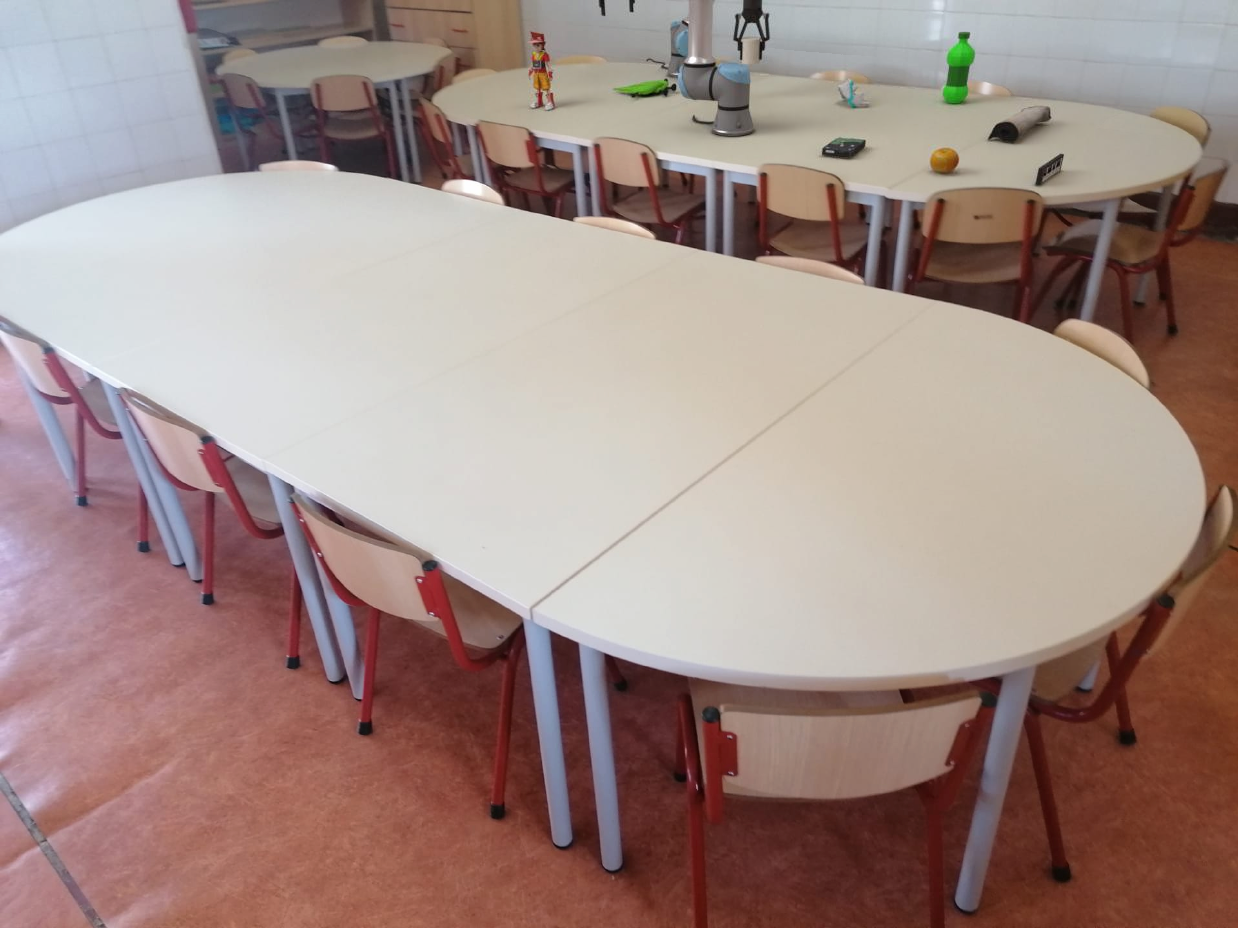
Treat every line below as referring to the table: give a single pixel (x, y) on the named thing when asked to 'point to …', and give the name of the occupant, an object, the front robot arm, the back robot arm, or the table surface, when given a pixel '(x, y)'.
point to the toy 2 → (648, 88)
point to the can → (751, 50)
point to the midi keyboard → (1049, 169)
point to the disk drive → (843, 147)
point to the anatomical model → (851, 94)
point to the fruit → (944, 160)
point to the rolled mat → (1020, 123)
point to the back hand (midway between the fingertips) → (617, 14)
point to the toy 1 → (541, 71)
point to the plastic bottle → (958, 69)
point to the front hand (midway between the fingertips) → (750, 59)
